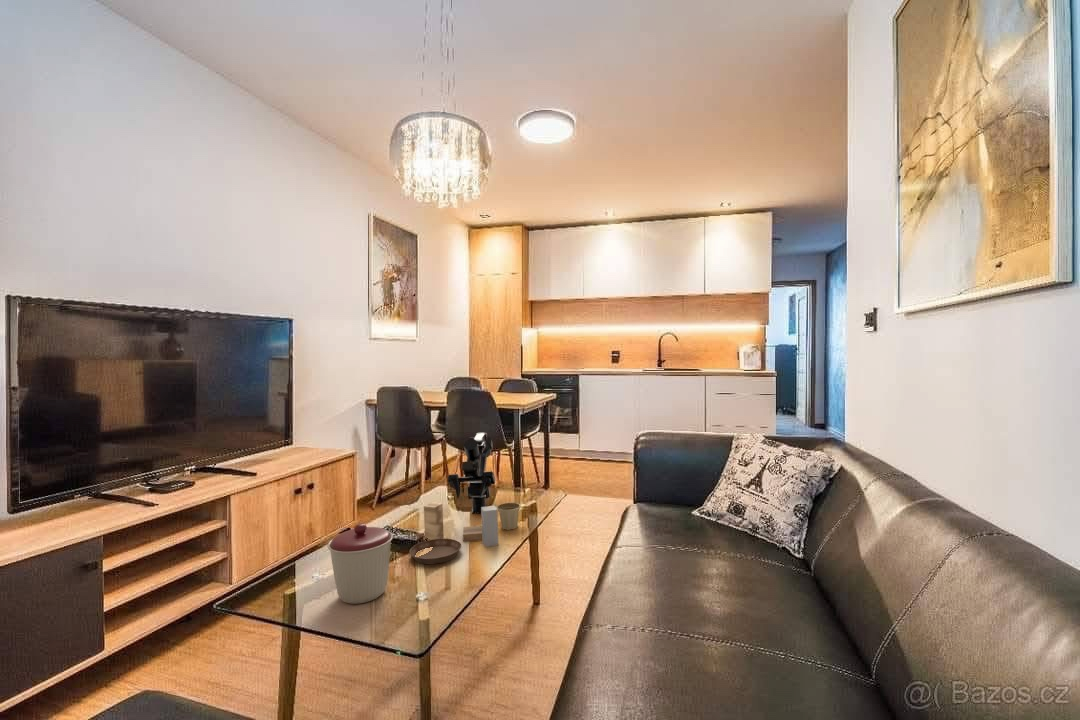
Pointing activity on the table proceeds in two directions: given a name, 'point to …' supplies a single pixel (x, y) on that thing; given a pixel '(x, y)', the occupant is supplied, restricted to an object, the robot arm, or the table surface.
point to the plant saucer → (436, 550)
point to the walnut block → (472, 533)
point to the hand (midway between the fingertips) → (469, 497)
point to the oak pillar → (433, 520)
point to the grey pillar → (489, 526)
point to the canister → (361, 563)
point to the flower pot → (509, 515)
